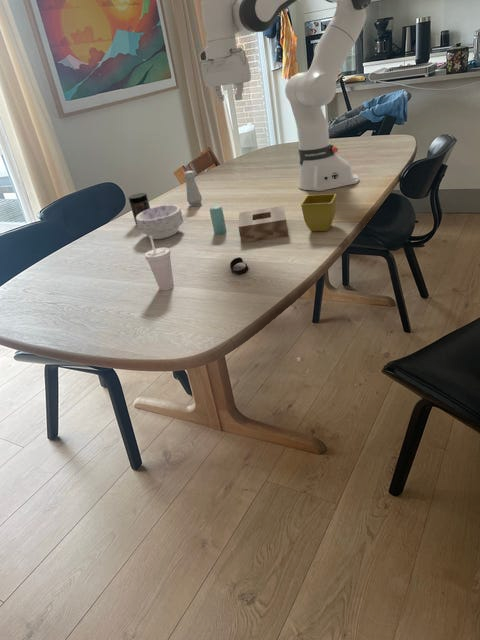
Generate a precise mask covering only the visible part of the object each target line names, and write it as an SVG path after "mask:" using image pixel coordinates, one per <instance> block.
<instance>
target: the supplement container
mask: <svg viewBox="0 0 480 640" xmlns="http://www.w3.org/2000/svg"><path fill="white" fill-rule="evenodd" d="M127 198H128V202H129V204H130V210H131V212H132V215H133V219H134V223H135V225H136V226H138V225H137V222H136V216H137V215H138V214H139V213H141V212H143V211H145V210H147V209H150V208H151V206H150V202H149V199H148V194H147V193H146V192H138V193H133V194H132V195H129V196H128V197H127Z"/></svg>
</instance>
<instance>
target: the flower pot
mask: <svg viewBox="0 0 480 640" xmlns="http://www.w3.org/2000/svg"><path fill="white" fill-rule="evenodd" d="M300 205H301V210H302V215H303V219H304V222H305V225H306V227H307V229H309V231H310V232H328V231H329V230H330V228H331V226H332V224H333V221H334V218H335V215H336V207H337V193H326V194H325V193H324V194H323V193H322V194H311V195H310V194H309V195H306V196H305V198H304V199H303V201H302V202H301V204H300Z"/></svg>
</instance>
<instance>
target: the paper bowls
mask: <svg viewBox="0 0 480 640" xmlns="http://www.w3.org/2000/svg"><path fill="white" fill-rule="evenodd" d="M136 222H137V225H136V226H137V228H138V231H139V233H140V234H143V235H146V236H147V237H148V238H149V239H150V237H149V236H152V239H153V240H162V239H167V238H169V237H172V236H174V235H175V234H177V233H178V232H179V228H180V226H181V225H182V224H183V223H184V217H183V212H182V208H181V207H180V206H179V205H176V204H165V205H159V206H155V207H150V209H147V210H145V211H143V212H141V213H139V214H138V215H137V216H136Z"/></svg>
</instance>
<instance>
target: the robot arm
mask: <svg viewBox="0 0 480 640" xmlns="http://www.w3.org/2000/svg"><path fill="white" fill-rule="evenodd" d="M297 1H298V2H301V1H302V0H201V2H200V4H201V14H202V23H203V27H204V30H205V34H206V38H205V42H206V46H205V48H204V49H203V50H202V51H201V52H200V53H199V54H198V59H199V61H200V62H201V67H200V68H201V75H202V79H203V84H204V85H205V87H206V88H209V87H212V89H213V90H212V91H213V92H214V94H215V96H216V99H217V102H223V101H225V96H224V94H223V92H222V91H221V89H222V87H221V86H227V85H234V87H235V89H236V92H235V94H234V99H235V101H240V100H243V90H244V83H249V82H251V79H252V75H251V74H252V73H251V68H250V65H249V60H248V57H247V55H246V54H247V53H246V51H245V50H244V49H243V48H242V47H237V40H236V35H240V36H244V35H245V36H246V35H249V34H253V33H263V32H265V31H268V29H270V28H271V27H272V25H273V24H274V23H275V21H276V19H277V18H278V16H279V15H280V13H282V11H284V10H285V9H287V8H288V7H290V6H291V5H292V4H294V3H295V2H297ZM325 1H326V2H328V3H333V4H334V3H336V7H335V8H336V9H335V11H334V15H333V17H332V18H331V20H330V22H328V24H327V26H326V28H325V30H324V31H323V32H322V35H321V37H320V39H319V40H318V42H317V43H316V46H315V47H314V50H313V53H314V54H313V59H312V61H311V65H310V67H309V68H308V70H307V71H305V72H298V73H296V74H295V75H293V76H292V77H290V78H289V79H288V80H287V82H286V85H285V89H284V93H285V97H286V99H287V100H288V102H289V105H290V106H291V110H292V114H293V116H294V120H295V121H294V122H295V124H296V130H297V140H298V152H297V153H298V163H299V166H300V176H299V184H298V188H299V189H301V190H305V191H315V192H316V191H317V192H321V191H322V192H323V191H326V190H327V191H328V190H331V189H335V188H340V187H341V188H342V187H345V186H349V185H354V184H358V183H359V182H360V181H359V180H360V178H359V175H357V174H356V173H353V170H352V166H351V165H350V164H351V163H349V162H348V161H347V160H346V159H344V158H343V157H341V156H339V155H337V154H336V153H338V151H339V148H338V147H337V146H335V145H333V144H331V143H330V137H329V136H330V135H329V134H330V133H329V123H328V120H327V118H326V116H325V115H324V112H323V108H322V107H324V106H325V105H328V104H329V103H331V102H332V101H333V99H334V98H335V96H336V93H337V80H338V77H339V75H340V72H341V69H342V67H343V65H344V63H345V61H346V60H347V57H348V56H349V54H350V53H351V51H352V49H353V47H354V45H355V44H356V42H357V40H358V39H359V36H360V34H361V32H362V30H363V27H364V25H365V23H366V19H367V11H366V9H365V8H367V7H368V6H369V5H370V3H371V2H372V0H325Z"/></svg>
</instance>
